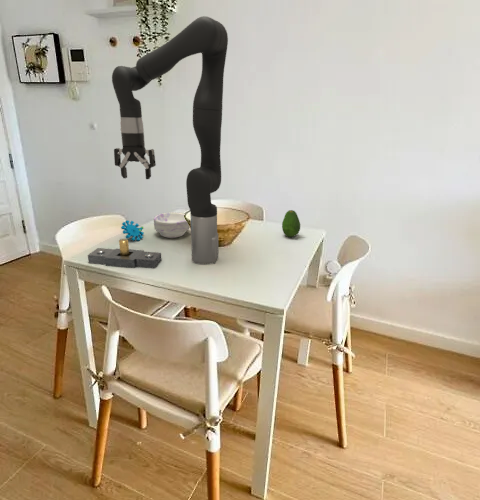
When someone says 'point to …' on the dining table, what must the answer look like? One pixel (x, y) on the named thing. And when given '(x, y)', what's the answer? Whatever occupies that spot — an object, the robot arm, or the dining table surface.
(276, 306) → the dining table surface
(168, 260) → the dining table surface
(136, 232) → the gear
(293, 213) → the avocado
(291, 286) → the dining table surface
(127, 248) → the pin
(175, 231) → the paper bowls
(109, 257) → the grey block with hole
